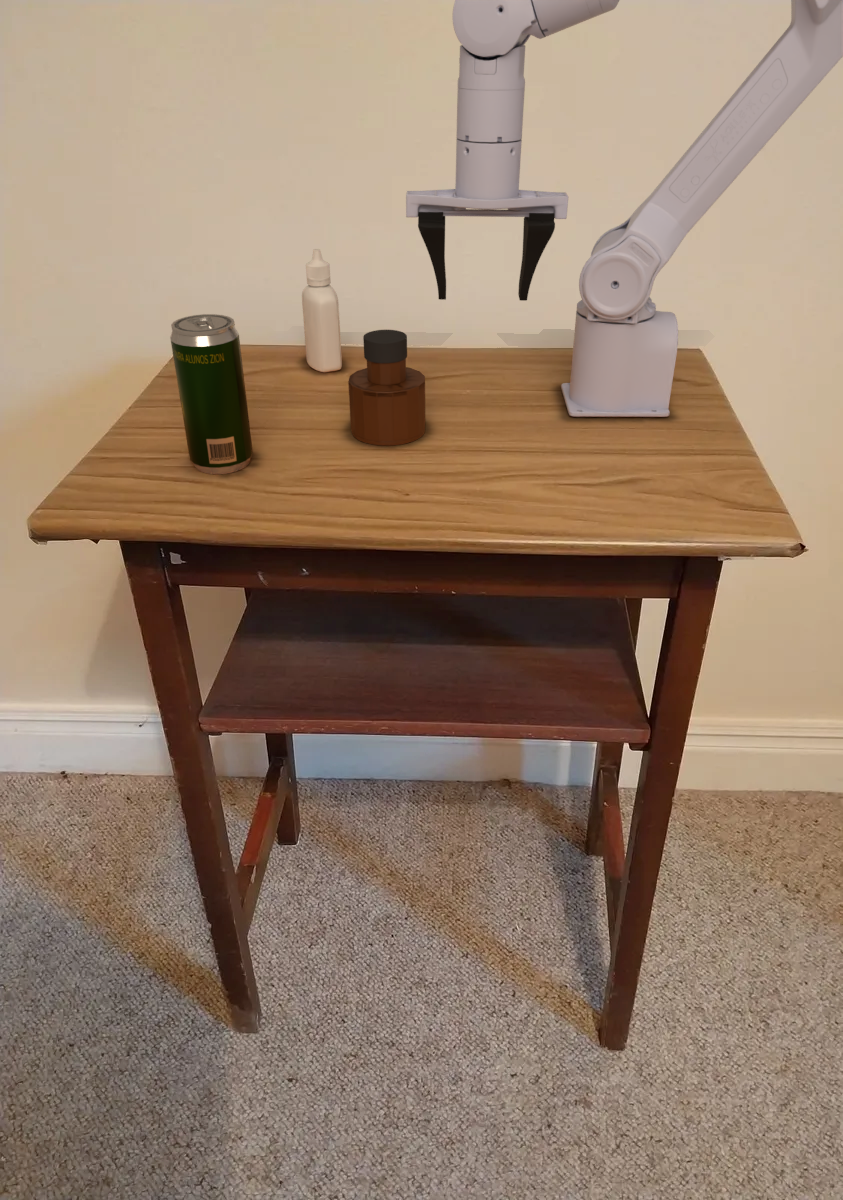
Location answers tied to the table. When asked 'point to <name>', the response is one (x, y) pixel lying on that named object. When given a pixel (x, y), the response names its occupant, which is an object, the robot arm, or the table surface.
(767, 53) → the robot arm
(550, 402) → the table surface
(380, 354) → the cylinder
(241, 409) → the beer can
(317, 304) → the eye dropper bottle
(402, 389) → the amber bottle
